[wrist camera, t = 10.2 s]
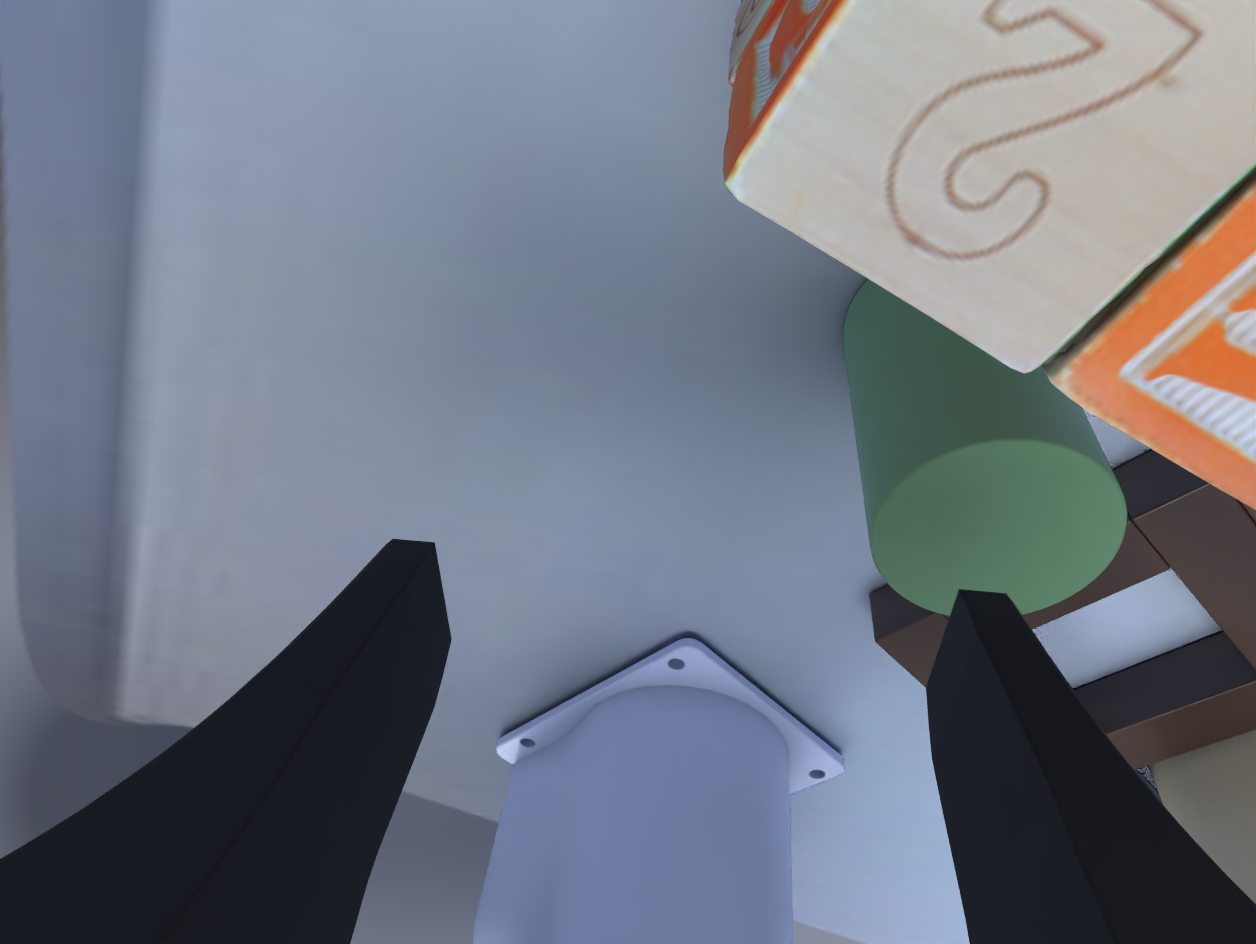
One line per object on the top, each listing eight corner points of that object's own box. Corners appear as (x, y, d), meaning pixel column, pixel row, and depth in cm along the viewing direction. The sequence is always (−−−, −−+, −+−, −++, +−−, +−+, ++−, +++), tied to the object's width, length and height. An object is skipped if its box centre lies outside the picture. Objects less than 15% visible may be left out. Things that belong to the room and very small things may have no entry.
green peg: (908, 429, 22) (955, 650, 17) (806, 319, 21) (821, 523, 15) (1063, 336, 20) (1173, 552, 15) (963, 206, 19) (1046, 394, 13)
